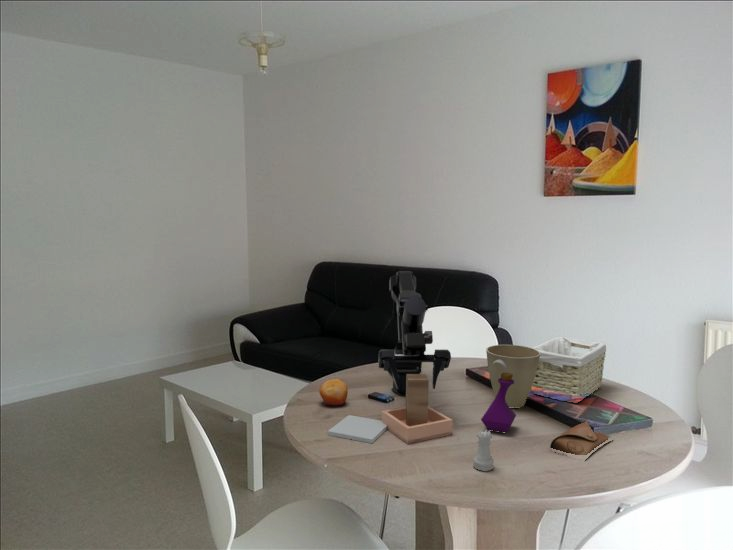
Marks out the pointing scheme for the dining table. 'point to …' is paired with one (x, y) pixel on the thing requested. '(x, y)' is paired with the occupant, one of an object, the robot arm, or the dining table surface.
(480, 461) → the rook chess piece
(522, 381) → the plant pot
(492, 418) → the perfume bottle
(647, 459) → the dining table surface
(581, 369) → the storage basket
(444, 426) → the box
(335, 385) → the fruit
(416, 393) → the walnut block
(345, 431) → the light grey board
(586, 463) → the dining table surface
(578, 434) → the sunglasses case
